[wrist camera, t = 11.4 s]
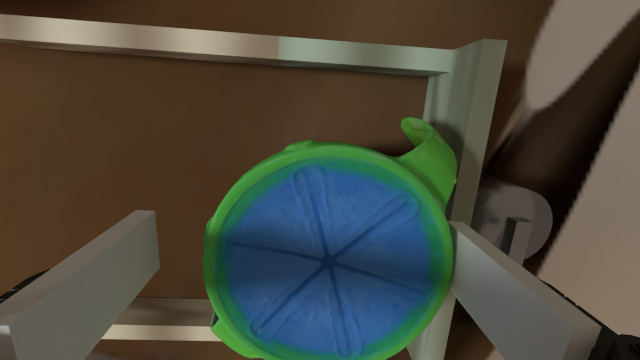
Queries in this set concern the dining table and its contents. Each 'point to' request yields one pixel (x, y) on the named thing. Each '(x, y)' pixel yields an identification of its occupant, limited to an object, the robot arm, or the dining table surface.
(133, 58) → the dining table surface
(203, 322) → the bay
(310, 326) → the snack cup
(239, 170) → the dining table surface
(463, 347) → the dining table surface
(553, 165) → the dining table surface
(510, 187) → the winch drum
